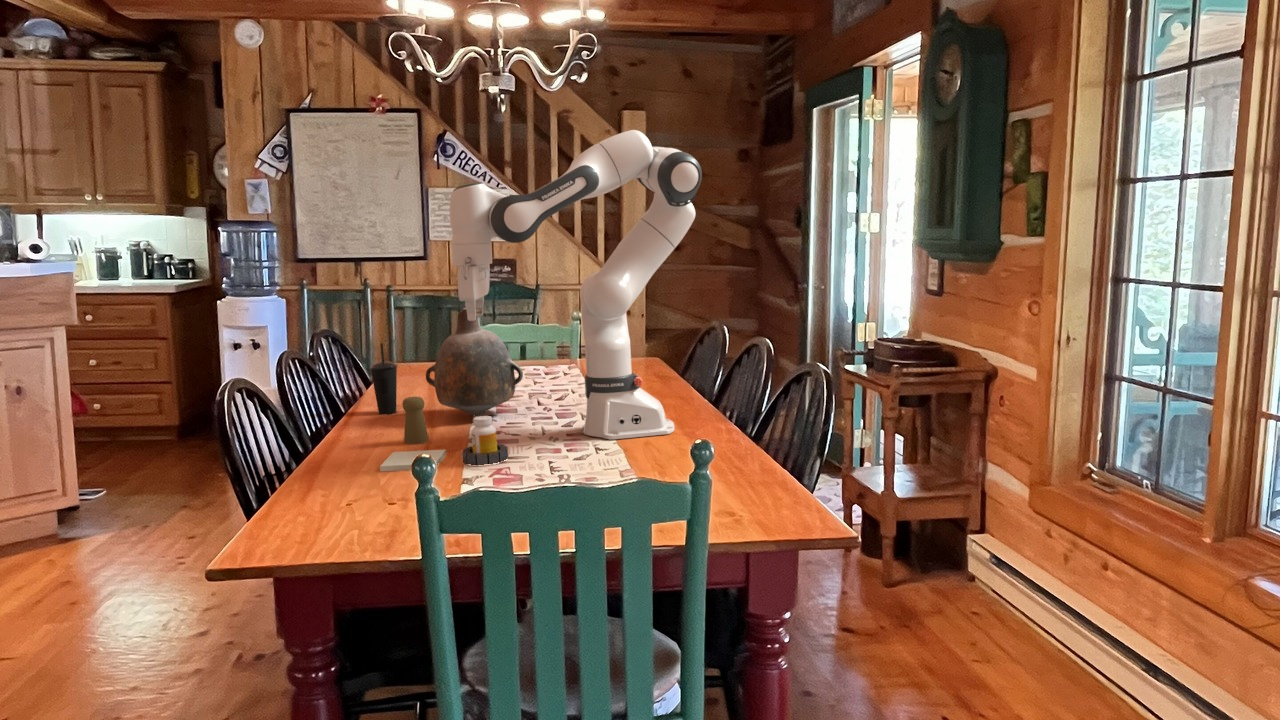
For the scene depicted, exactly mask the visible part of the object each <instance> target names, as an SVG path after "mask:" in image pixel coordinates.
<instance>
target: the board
mask: <svg viewBox="0 0 1280 720" xmlns="http://www.w3.org/2000/svg"><path fill="white" fill-rule="evenodd" d="M420 454H429V455H431V456H432V457H433V458H434V460H435V461H436V463H437V466H438V463H439V465H440V464H441V463H442V462H443V460H444V459H445V457H446V456H447V449H430V450H428V449H427V450H408V451H407V450H406V451H394V452H392V453H391V454H390V455H389V456H388V457H387V458H386V459H385V460H384V461H383V463H382V464H381V465H380V466H379V468H380V470H379V471H380V472H395V471H396V472H399V471H411V470H410V469H411V464H412V461H413V459H414V458H415V457H416V456H417V455H420ZM438 467H439V466H438Z"/></svg>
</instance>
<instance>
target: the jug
mask: <svg viewBox="0 0 1280 720" xmlns="http://www.w3.org/2000/svg"><path fill="white" fill-rule="evenodd" d="M456 326H457V327H456V331H455V333H452V334H451V335H449V336H448V337H447V338H445V340H444V341H443V342H442V344H441V345H440V348H439V350H438V352H437V355H436V359H435V363H433V365H431V366H430V367H428V368H427V370H426V372H425V379H426V382H427V383H428V385H430V386H432V387H433V388H434V390H435V394H436V399H437V400H438V402H439V404H440V405H442V406H445V407H448V408H453V409H456V410H459V411H462V412H464V413H466V414H469V415H470V416H473V417H476V416H478V417H479V416H483V415H484V414H485V413H486V412H488V411H489V410H490V409H493V408H496V407H497V406H500V405H502V404H504V403H506V402H509V400H512V398H513V397H514V395H515V391H516V385H518V384H519V383H520V382H521V381H522V380H523V376H524V373H523V369H522V368H521V366H520V365H518V364H517V363H515V361H513V360H512V357H511V355H510V353H509V350H508V349H507V348H508V347H506V345H505V343H504V341H503V340H502V339H501V338H500V337H499V335H497V334H496V333H495V332H493V331H490V330H488V329H483V328H482V327H481V326H480V324H479V322H478V319H476V320H474V321H469V320H468V319H467V311H466V307H464V308H462V309H461V310H460V312H459V313H458V315H457V325H456ZM515 371H516V372H517V374H518V377H517V378H516V376H515ZM432 372H433V375H434V378H433V379H432V378H431V373H432Z"/></svg>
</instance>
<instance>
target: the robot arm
mask: <svg viewBox="0 0 1280 720" xmlns="http://www.w3.org/2000/svg"><path fill="white" fill-rule="evenodd" d="M633 180H637V181H638V182H639V183H640V184H641V185H642V186H643V187H644V188H645V189H647V190H650V191H652V192H653V193H654V194H653V200H652V202H651V204H650V206H649V207H648V209H647V210H646V211H645V212H644V213H643V215H642V216H641V217H640V218H639V219H638V221H636V222H635V224H634V225H633V227H632V228H631V229H630V230H629V231H628V232H627V233H626V234H625V236H623V238H622V239H621V241H620V242H619V243H618V245H617V246H616V248H615V249H614V250H613V251H612V253H611V255H610V256H609V257H608V259H607V260H606V262H605V263H604V264H603V266H602V267H601V268H600V269H599V271H595V272H593V273H591V274H590V273H589V274H588V276H587V277H586V278H585V279H584V280H583V282H582V284H581V286H580V289H579V290H580V291H579V297H580V299H579V300H580V310H581V312H580V313H581V318H582V319H581V321H582V329H583V330H582V331H583V339H584V353H585V368H586V369H585V370H586V375H585V377H584V393H585V398H586V413H585V420H584V427H583V431H582V433H583V434H584V435H586V436H590V437H596V438H603V439H605V440H620V439H631V438H640V437H641V438H642V437H653V436H661V435H669V434H672V433H674V431H675V429H676V428H675V423H674V421H672V420H671V419H669V418H666V413H665V410H664V407H663V405H662V403H661V402H660V400H659V399H657V398H656V397H654V396H653V395H651V394H650V393H649V392H647V391H646V390H644V389H643V388H641V386H642V384H643V381H644V380H643V378H642V377H641V376H639V374H636V373H634V372H632V352H631V350H632V349H631V338H630V332H629V327H628V326H629V324H628V318H627V312H628V311H629V309H630V308H631V306H632V305H633V304H634V302H636V300H637V298H638V297H639V296H640V294H641V293H642V291H643V290H644V289H645V287H646V286H647V284H648V283H649V281H650V279H651V278H652V277H653V275H654V274H655V273H656V272H657V270H658V269H659V268H660V267H661V266H662V265H663V264H664V262H665V261H666V260H667V258H668V257H669V256H670V255H671V254H672V253H673V251H674V250H675V249H676V248H677V247H678V245H679V244H680V243H681V242H682V240H683V239H684V237H685V236H686V234H687V233H688V231H689V230H690V228H691V226H692V225H693V222H694V221H695V218H696V209H695V206H694V205H693V204H694V203H692V202H694V201H695V199H696V197H697V192H698V190H699V188H700V186H701V183H702V180H703V171H702V167H701V165H700V163H699V161H698V160H697V159H696V158H695V157H694V156H693V155H691V154H690V153H688V152H684V151H682V150H680V149H677V148H673V147H664V146H659V145H652V143H651V141H650V139H649V138H648V137H647V136H646V135H645V133H643V132H641V130H637V129H630V130H626V131H623V132H620V133H618V134H614V135H612V136H609V137H608V138H605V139H603V140H602V141H599V142H597V143H594V145H592V146H590V147H588V148H587V149H585V150H584V151H583V152H581V153H580V154H579V155H578V156H576V157H575V158H574V159H573V160H572V162H571V164H570V166H569V167H568V169H567V170H566V171H565V172H564V173H563V174H562V175H561V176H559V177H558V178H556V179H554V180H553V181H551V182H549V183H547V184H545V185H543V186H541V187H540V188H537V189H536V190H535V191H532V192H529V193H526V194H512V195H506V194H503V193H501V192H499V191H497V190H494V189H493V188H491V187H489V186H488V185H486V183H484V182H472V183H468V184H467V183H466V184H463V185H459V186H457V187H456V188H455V189H453V191H452V192H451V193H450V197H449V225H450V228H451V231H452V238H451V257H452V258H451V261H452V265H453V266H457V267H458V269H457V288H458V290H457V291H458V292H457V293H458V294H457V295H458V299H459V301H460V302H464V306H465V307H464V308H466V311H467V319H468V320H469V321H474V320H476V319H477V317H482V316H483V315H484V302H485V296H487V295H488V294H489V291H490V280H491V279H490V276H491V275H490V274H491V269H490V267H491V266H490V265H491V264H493V250H492V247H493V246H492V240H493V239H494V238H498V239H500V240H503V241H505V242H507V243H514V244H517V243H518V244H519V243H523V242H525V241H527V240H528V239H530V238H531V237H533V235H534V234H535V233H536V231H537V230H538V229H539V228H540V226H541V225H542V223H543V222H544V221H545V220H547V219H548V218H550V217H551V216H553V215H555V214H557V213H558V212H560V211H561V210H562V211H563V209H565V208H567V207H568V206H571V205H572V204H574V203H576V202H579V201H582V200H585V199H592V198H596V197H599V196H603V195H605V194H607V193H610V192H612V191H614V190H616V189H618V188H620V187H622V186H624V185H625V184H627V183H628V182H629V181H633ZM477 320H478V319H477Z"/></svg>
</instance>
